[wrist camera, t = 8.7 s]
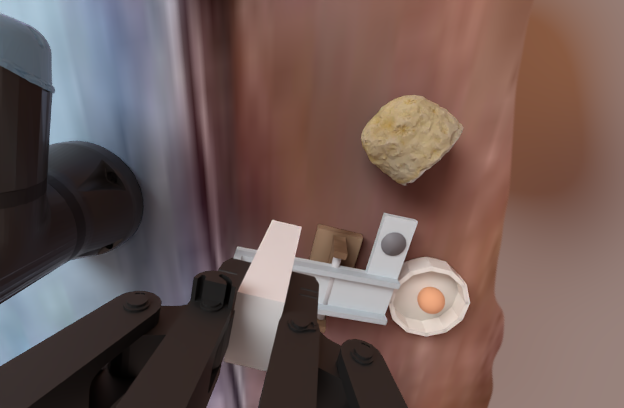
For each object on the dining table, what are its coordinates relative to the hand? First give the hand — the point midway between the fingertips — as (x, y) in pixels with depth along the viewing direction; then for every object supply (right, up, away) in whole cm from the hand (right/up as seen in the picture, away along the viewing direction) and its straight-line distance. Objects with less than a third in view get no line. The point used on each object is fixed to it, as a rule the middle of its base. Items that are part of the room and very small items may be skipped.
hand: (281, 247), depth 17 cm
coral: (+12, +11, +24) cm, 29 cm away
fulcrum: (+4, -7, +29) cm, 30 cm away
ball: (+17, -11, +28) cm, 34 cm away
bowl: (+17, -10, +30) cm, 36 cm away
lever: (+2, -5, +24) cm, 25 cm away
